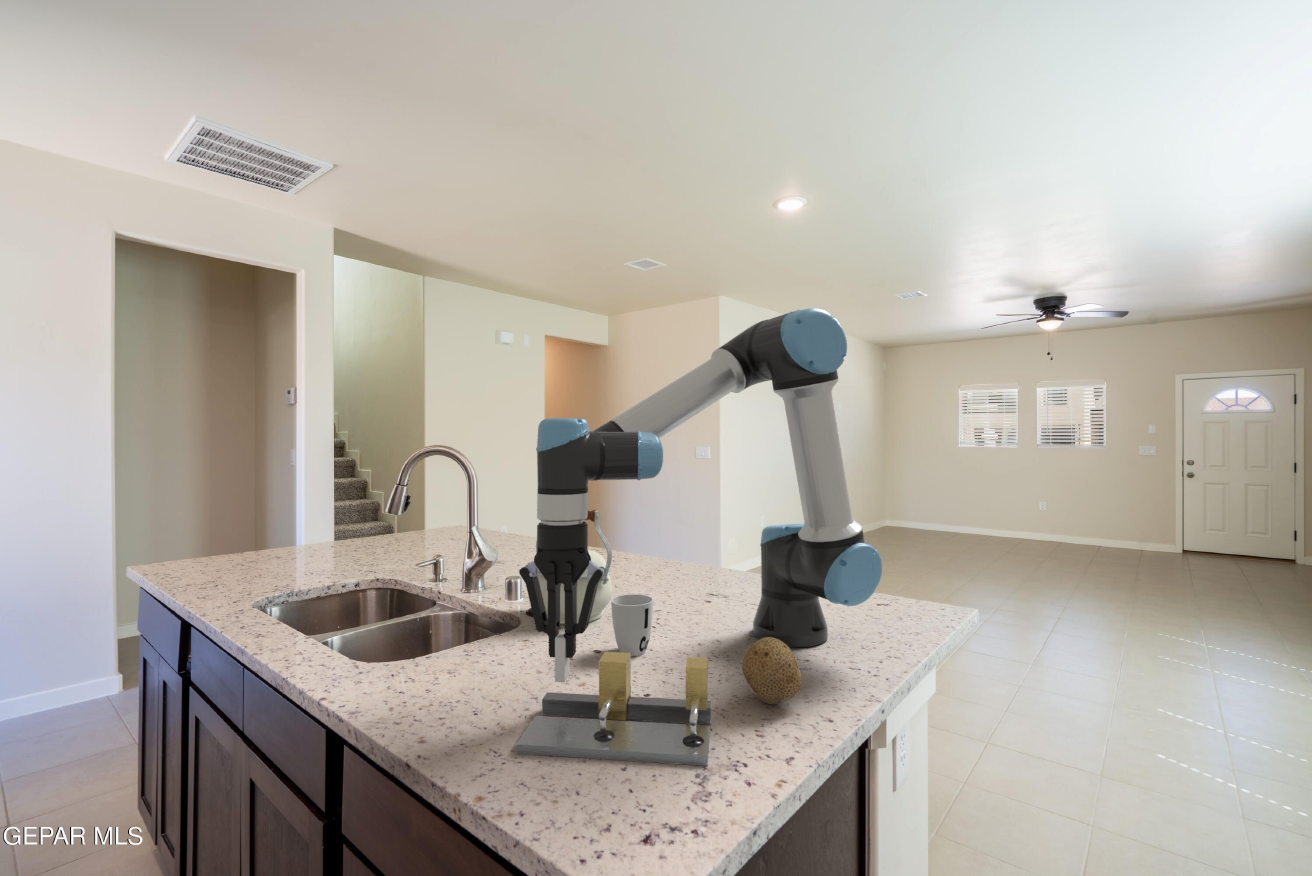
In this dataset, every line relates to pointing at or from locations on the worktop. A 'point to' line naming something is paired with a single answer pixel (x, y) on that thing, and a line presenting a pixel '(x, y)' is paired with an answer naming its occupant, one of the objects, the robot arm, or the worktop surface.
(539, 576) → the kettle
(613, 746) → the bolt plate
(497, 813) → the worktop surface
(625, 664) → the block
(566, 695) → the rail
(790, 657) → the natural sponge
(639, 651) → the cup
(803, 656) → the worktop surface
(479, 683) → the worktop surface
